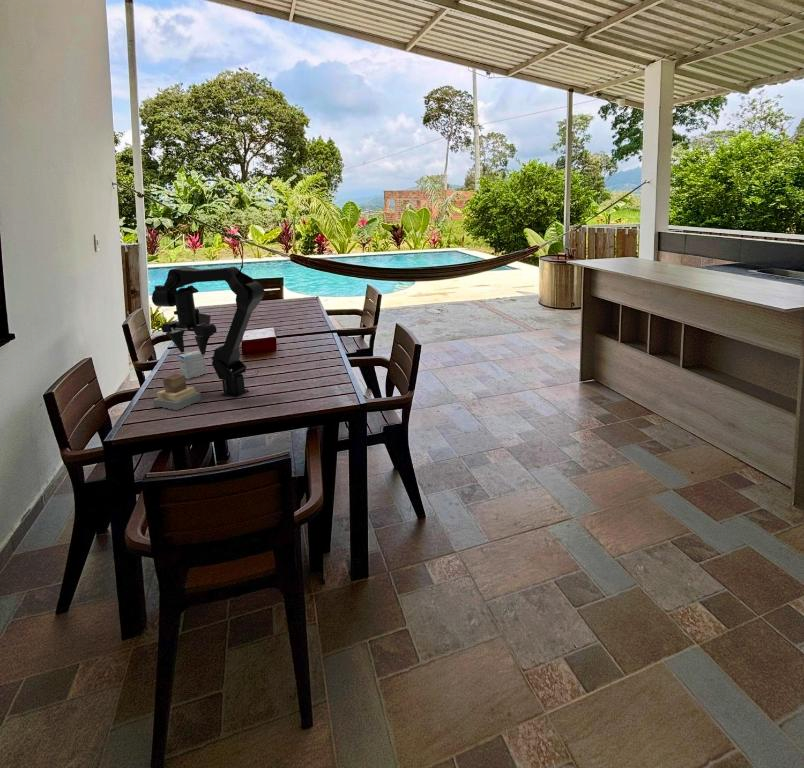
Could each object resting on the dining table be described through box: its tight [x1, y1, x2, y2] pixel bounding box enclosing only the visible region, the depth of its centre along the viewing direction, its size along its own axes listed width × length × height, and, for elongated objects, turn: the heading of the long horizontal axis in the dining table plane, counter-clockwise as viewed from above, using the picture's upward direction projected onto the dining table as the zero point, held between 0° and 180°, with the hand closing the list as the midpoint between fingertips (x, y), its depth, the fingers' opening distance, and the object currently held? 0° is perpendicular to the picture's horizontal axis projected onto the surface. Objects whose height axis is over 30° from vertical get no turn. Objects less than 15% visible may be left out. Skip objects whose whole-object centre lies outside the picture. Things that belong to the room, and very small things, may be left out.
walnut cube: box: [162, 373, 187, 393], centre depth 174 cm, size 4×4×4 cm
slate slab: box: [152, 391, 203, 411], centre depth 176 cm, size 10×10×2 cm
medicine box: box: [177, 350, 207, 380], centre depth 202 cm, size 8×4×9 cm, turn 141°
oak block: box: [156, 385, 197, 402], centre depth 175 cm, size 8×8×2 cm
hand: (192, 353), depth 183 cm, fingers open, 9 cm apart
